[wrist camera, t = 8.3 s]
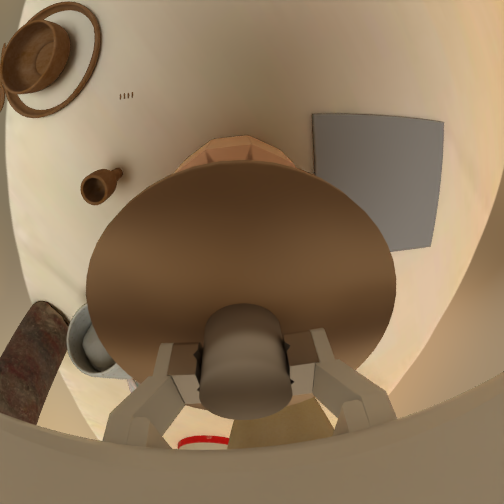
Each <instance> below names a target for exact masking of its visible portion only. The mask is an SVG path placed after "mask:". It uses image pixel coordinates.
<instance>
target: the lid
mask: <svg viewBox="0 0 504 504" xmlns="http://www.w3.org/2000/svg"><path fill="white" fill-rule="evenodd" d="M395 297H396V274H395V268H394V262H393V259H392V256H391V253H390V250H389V247H388V244H387V243H386V241H385V239H384V237H383V235H382V233H381V232H380V230H379V228H378V227H377V226H376V224H375V223H374V222H373V221H372V219H371V218H370V217H369V216H368V214H367V213H366V212H365V211H364V210H363V209H362V208H361V207H359V206H358V205H357V204H356V203H355V202H354V201H353V200H352V199H350V198H349V197H348V196H347V195H346V194H345V193H343V192H342V191H341V190H340V189H338V188H336V187H335V186H333V185H332V184H330V183H328V182H327V181H325V180H323V179H322V178H320V177H317V176H315V175H313V174H310V173H308V172H305V171H303V170H301V169H298V168H294V167H290V166H286V165H282V164H278V163H274V162H265V161H255V160H231V161H218V162H213V163H208V164H203V165H198V166H193V167H191V168H188V169H185V170H182V171H179V172H177V173H174V174H171V175H169V176H167V177H165V178H163V179H162V180H160V181H158V182H156V183H154V184H153V185H151V186H149V187H148V188H146V189H145V190H144V191H142V192H141V193H140V194H139V195H137V196H136V197H135V198H133V199H132V200H131V201H130V202H129V203H128V204H127V205H126V206H125V207H124V208H123V209H122V210H121V211H120V212H119V213H118V215H117V216H116V217H115V218H114V219H113V220H112V221H111V222H110V223H109V225H108V226H107V228H106V229H105V231H104V232H103V234H102V236H101V237H100V239H99V240H98V242H97V244H96V247H95V249H94V252H93V254H92V257H91V259H90V263H89V268H88V273H87V280H86V298H87V305H88V311H89V315H90V318H91V322H92V325H93V327H94V329H95V332H96V334H97V336H98V338H99V340H100V342H101V343H102V345H103V346H104V348H105V349H106V351H107V352H108V354H109V355H110V356H111V357H112V358H113V360H114V361H115V362H116V363H117V364H118V365H119V366H120V367H121V368H122V369H123V370H124V371H125V372H126V373H127V374H128V375H129V376H131V377H132V378H133V379H135V380H136V381H137V382H139V383H140V384H141V383H142V382H143V381H144V380H145V379H146V378H147V377H148V376H153V372H154V367H155V363H156V359H157V355H158V350H159V346H160V345H161V344H162V343H182V342H201V344H202V347H203V354H202V365H201V377H200V390H199V399H200V402H201V403H197V404H185V405H187V406H191V407H194V408H199V409H204V410H208V411H210V412H211V413H213V414H215V415H218V416H220V417H224V418H228V419H234V420H252V419H259V418H264V417H267V416H270V415H273V414H275V413H277V412H279V411H281V410H282V409H284V408H285V407H287V406H290V405H293V404H297V403H300V402H303V401H305V400H308V399H310V398H312V397H315V396H314V395H313V393H308V394H301V395H293V393H292V387H291V381H290V377H289V372H288V367H287V360H286V355H285V351H284V345H283V334H285V333H292V332H299V331H306V330H312V329H318V328H323V329H324V330H325V332H326V335H327V338H328V341H329V344H330V346H331V349H332V352H333V355H334V358H335V360H337V359H340V360H341V361H342V362H344V363H345V364H347V365H348V366H350V367H351V368H353V369H354V370H356V369H357V368H358V367H359V366H360V365H361V364H362V363H363V362H364V361H365V360H366V359H367V358H368V357H369V355H370V354H371V353H372V352H373V351H374V349H375V348H376V346H377V345H378V343H379V342H380V340H381V338H382V337H383V335H384V333H385V331H386V328H387V326H388V324H389V321H390V318H391V315H392V312H393V308H394V303H395ZM292 395H293V396H292Z"/></svg>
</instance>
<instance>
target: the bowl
mask: <svg viewBox="0 0 504 504" xmlns="http://www.w3.org/2000/svg"><path fill="white" fill-rule="evenodd" d="M231 160H255V161H265V162H274V163H278V164H282V165H286V166H290V167H294V168H296V167H295V165H294V164H293V162H292V161H291V160H290V159H289V158H288V157H287V156H286V155H285V154H284V153H283V152H282V151H281V150H280V149H278V148H275V147H273V146H271V145H269V144H267V143H264V142H262V141H260V140H258V139H255V138H253V137H251V136H249V135H244V136H235V137H226V138H218V139H212V140H211V141H209V142H208V143H207V144H205V145H204V146H203V147H201V148H200V149H199V150H197V151H196V152H195V153H194V154H192V155H191V156H190V157H188V158H187V159H186V160H185V161H184V162H183V163H182V164H181V165H180V166H179V168H178V169H177V170H176V171H175V172H174V173H177V172H179V171H182V170H185V169H188V168H191V167H193V166H198V165H203V164H208V163H213V162H218V161H231ZM174 173H173V174H174Z"/></svg>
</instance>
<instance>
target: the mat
mask: <svg viewBox="0 0 504 504" xmlns="http://www.w3.org/2000/svg"><path fill="white" fill-rule="evenodd" d="M312 124H313V143H314V169H315V176H317V177H320V178H322V179H323V180H325V181H327V182H328V183H330V184H332V185H333V186H335V187H336V188H338V189H340V190H341V191H342V192H343V193H345V194H346V195H347V196H348V197H349V198H350V199H352V200H353V201H354V202H355V203H356V204H357V205H358V206H359V207H361V208H362V209H363V210H364V211H365V212H366V213H367V214H368V216H369V217H370V218H371V219H372V221H373V222H374V223H375V224H376V226H377V227H378V228H379V230H380V232H381V233H382V235H383V237H384V239H385V241H386V243H387V244H388V247H389V250H390V252H394V251H401V250H409V249H416V248H424V247H431V242H432V237H433V231H434V225H435V219H436V213H437V206H438V199H439V191H440V182H441V172H442V159H443V141H444V122H440V121H433V120H425V119H417V118H407V117H396V116H383V115H365V114H312Z"/></svg>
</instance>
